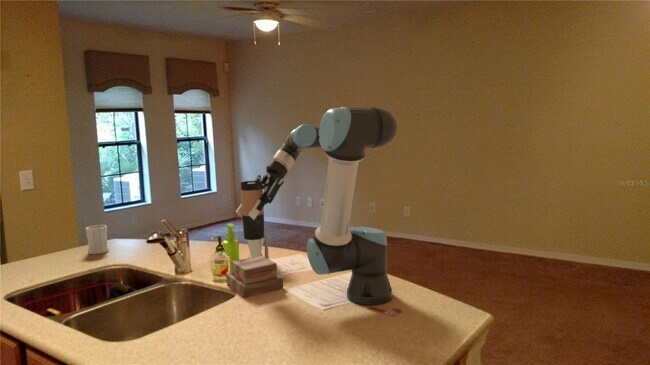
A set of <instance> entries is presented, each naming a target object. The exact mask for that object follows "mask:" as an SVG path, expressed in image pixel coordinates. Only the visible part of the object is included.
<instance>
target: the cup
mask: <svg viewBox="0 0 650 365" xmlns="http://www.w3.org/2000/svg"><path fill="white" fill-rule="evenodd" d="M85 232H86V238H87V246H88V250H87V253H88V254H90V255H100V254H105V253H107V252H109V251H110V249H109V248H110V247H109V246H108V226H107V225H105V224H95V225H89V226H87V227H85Z"/></svg>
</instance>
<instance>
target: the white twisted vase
mask: <svg viewBox="0 0 650 365" xmlns="http://www.w3.org/2000/svg"><path fill="white" fill-rule="evenodd" d="M267 237H268V236H267V231H264V238H262V239H258V240H246V241H247V246H248V250H249V255H248V258H252V257H257V256H263V257H265V258H267V259H269V260H270V256H269V242H268V238H267ZM263 244H264V246H263ZM263 247H264V255H263V252H262V250H263Z"/></svg>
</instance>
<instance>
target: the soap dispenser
mask: <svg viewBox="0 0 650 365" xmlns="http://www.w3.org/2000/svg"><path fill="white" fill-rule="evenodd" d="M226 226H227V231H226V232H225V239H226V240H223V241H222V245H223V247H222V248H224V250H225V253H226V254H227V256H229V258H230V274H232V261H237V260H240V245H239V239H236V233H235V231H234V230H233V229H235V228H236V226H235V224H234V223H231V222H230V223H226ZM224 250H223V251H224Z"/></svg>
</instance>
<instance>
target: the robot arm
mask: <svg viewBox="0 0 650 365" xmlns="http://www.w3.org/2000/svg"><path fill="white" fill-rule="evenodd" d="M398 133H399V122H398V119H397V117H396V116H395V114H393V112H392V111H390V110H388V109H386V108H383V107H379V106H378V107H377V106H372V107H371V106H370V107H368V106H367V107H360V106H359V107H345V106H341V107H334V108H330V109H328V110H327V111H326V112H324V114H323V115H322V117H321V120H320V124H319V126H313V125H311V124H308V123H304V124H301V125H299V126H297V127H296V128H295V129H293V130H292V131H291V132H290V133H289V134H288V135H287V137H286V139H285V140H284V142H283V143H282V145H281V146H280V148H279V149H278V150H277V151H276V153H275V154H274V155H273V157H272V158H271V160H270V162H268V164H267V165H266V167H265V170H266V172H265V173H264V174H263V175H261V174H258V175H257V176H256V178H255V180H254V181H262V190H263V195H262V197H261V198H260V200H261V201H260V200H258V201H257V203H256V204H255V206H254V207H253V209H252V210H251V211H250V213H249V214H248V215H249V216H250V217H251V218H252V219H255V218H256V216H257V215H258V214H259V212H260V211H261V210H262V208H263V207H264V208H265V206H266V205H267V204H272V203H273V200H275V196H276V195H277V193H278V192H279V190H280V188H281V187H282V186H283V184H284V183H285V181H284V180H283V179H284V178H285V177H286V175H288V174H287V173H288V171H290V169H291V168H292V167H293V165H294V163H295V162H296V161H297V159H298V158H299V156H300V155H301V154H302V153H303V152H304V151H305V150H306V149H319V148H322V150H324V154H325V156H326V157H327V158H328V162H327V163H328V164H327V172H326V182H325V189H324V195H323V196H324V197H323V203H322V204H323V205H322V214H321V222H320V226H317V228H316V229H315V231H314V237H310V238H309V239H307V241H306V245H305V246H306V255H307V258H308V262H309V264H310V267H311V269H312V271H313V272H314V273H316V275H330V274H335V273H341V272H348V271H351V275H350V279H349V283H348V286H347V288H346V298H347V299H348V300H349V301H350V302H352V303H355V304H358V305H363V306H374V305H375V306H376V305H377V306H378V305H383V304H386V303H388V302H390V301H391V300H392V299H393V288H392V287H391V281H390V279H389V276H388V267H387V266H388V263H387V262H388V256H387V255H388V254H387V253H388V251H387V250H388V249H387V248H388V241H387V234H386V233H385V232H384V231H383V230H381V229H379V228H375V227H367V226H354V227H352V228H351V229H350V231H349V228H350V226H349V225H350V220H351V214H352V207H353V206H352V205H353V200H354V193H355V188H356V180H357V173H358V168H359V162H361V161H363V160H364V159H365V156H366V150H368V149H378V148H384V147H386V146H388V145H390V144H391V143H393V141H395V139H396V137H397V136H398ZM235 213H236V214H237V215H238V216H239V217H242V202H241V203H240V205H239V206H238V207H237V209H236V210H235Z"/></svg>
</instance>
